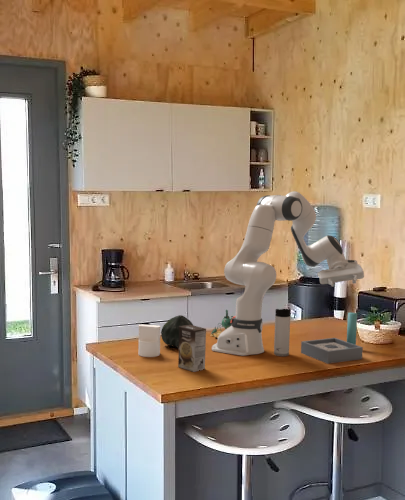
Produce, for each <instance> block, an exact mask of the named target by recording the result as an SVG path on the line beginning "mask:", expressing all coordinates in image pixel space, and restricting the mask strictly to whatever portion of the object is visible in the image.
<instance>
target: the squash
mask: <svg viewBox="0 0 405 500" xmlns="http://www.w3.org/2000/svg"><path fill="white" fill-rule="evenodd" d="M184 325H194V323H193V322H192V321H191V320H190V319H189V318H187V317H186V316H184V315H182V314H181V315H175V316H174V317H171V318H170V319H168V320H167V321H166V323H165V322H164V324H163V326H162V327H161V329H160V338H161V340H162V342H163V343H164V344H165V345H167V346H172V347H175V348H177V349H179V326H184Z"/></svg>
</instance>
